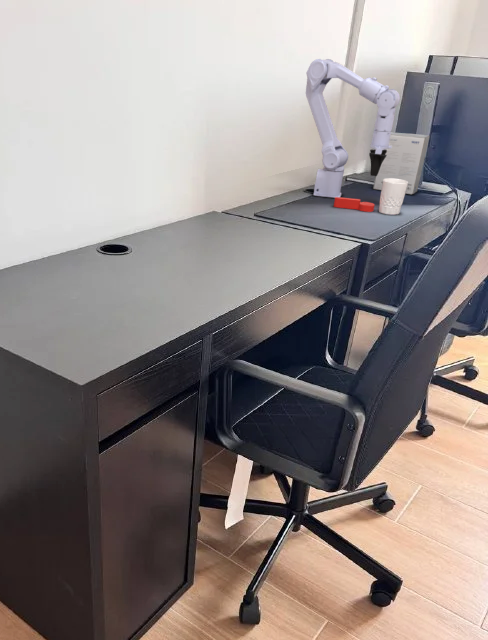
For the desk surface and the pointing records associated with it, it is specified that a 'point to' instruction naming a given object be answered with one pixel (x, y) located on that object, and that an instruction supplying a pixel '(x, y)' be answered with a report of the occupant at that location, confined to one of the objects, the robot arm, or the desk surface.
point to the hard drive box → (403, 160)
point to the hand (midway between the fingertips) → (374, 173)
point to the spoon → (353, 204)
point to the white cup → (392, 196)
